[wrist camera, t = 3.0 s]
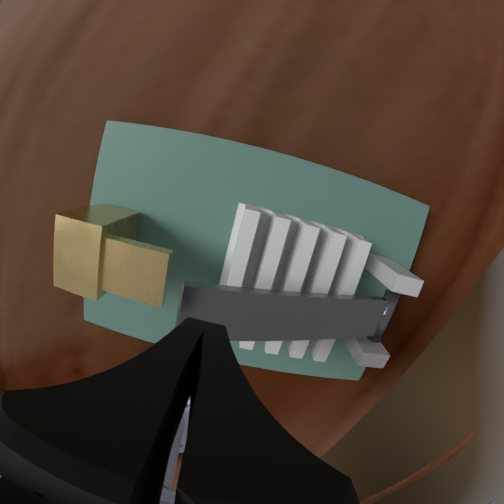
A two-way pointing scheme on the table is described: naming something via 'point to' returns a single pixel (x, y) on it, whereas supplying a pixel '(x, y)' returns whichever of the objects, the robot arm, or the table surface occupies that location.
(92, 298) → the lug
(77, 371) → the table surface
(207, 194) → the board
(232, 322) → the strap
